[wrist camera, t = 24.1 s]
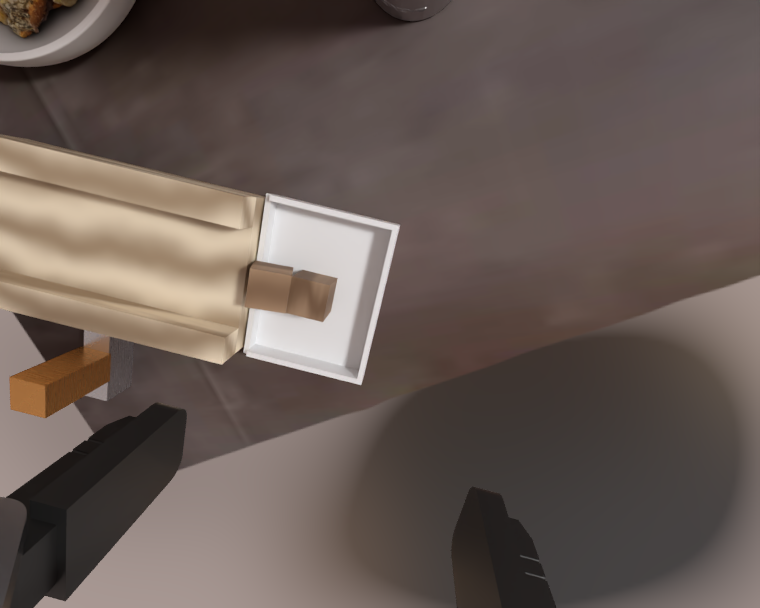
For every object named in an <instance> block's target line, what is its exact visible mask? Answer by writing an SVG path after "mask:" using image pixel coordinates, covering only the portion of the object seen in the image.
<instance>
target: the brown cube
mask: <svg viewBox="0 0 760 608" xmlns="http://www.w3.org/2000/svg"><path fill="white" fill-rule="evenodd" d="M337 279H338V278H335V277H331V276H327V275H322V274H318V273H314V272H310V271H306V270H302V271H300V272H298V273H296V274H295V275H293V276H292V278H291V284H290V290H289V296H288V302H287V308H286V313H288V314H292V315H296V316H300V317H304V318H308V319H312V320H316V321H320V322H323V321H324V320H325V319H326V317H327V316H328V315H329V314H330V312H331V309H332V304H333V299H334V294H335V289H336V284H337Z"/></svg>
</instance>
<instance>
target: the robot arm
mask: <svg viewBox="0 0 760 608" xmlns="http://www.w3.org/2000/svg"><path fill="white" fill-rule="evenodd" d="M375 1H376V2H377V4H378V5H379V6H380V7H381V8H382V9H383V10H384V11H385V12H387V13H388V14H390V15H391V16H393V17H395V18H398V19H401V20H406V21H418V20H424V19H427V18H429V17H432V16H434V15H435V14H437V13H438V12H440V11H441V10H443V9H444V8H445V7H446V6H447V5H448V4H449V3H450V2H451V0H375ZM186 419H187V413H186V410H184V409H181V408H177V407H173V406H170V405H166V404H162V403H155V404H153V405H151V406H150V407H149V408H148V409H146V410H145V411H144V412H142V413H141V414H140V415H139V416H137V417H132V416H128V417H125V418H123V419H120V420H118V421H115V422H113V423H110V424H108V425H106V426H104V427H103V428H102V429H100V430H99V431H97V432H96V433H95V434H93V435H92V436H91V437H90V438H89V439H88V441H84V442H82V443H81V444H80V445H78V446H77V447H75V448H74V449H73V451H72V452H69V453H67V454H66V455H64V456H63V457H61V458H60V459H59V460H57V461H56V462H55V463H53V464H52V465H51V466H49V467H48V468H46V469H45V470H44V471H42V472H41V473H39V474H38V475H37V476H35V477H34V478H33V479H31V480H30V481H28V482H27V483H26V484H24V485H23V486H21V487H20V488H19V489H17V490H16V491H14V492H13V493H12V494H10V495H9V496H7V497H6V498H4V497H0V608H34V607H35V605H36V604H37V603H38V602H39V601H40V600H41V599H42V598H43V597H44V596H48V597H52V598H56V599H59V600H63V601H66V600H67V599H68V598H69V596H70V595H71V594H72V593H73V592H74V591H75V590H76V588H77V587H78V586H79V585H80V584H81V583H82V582H83V580H84V579H85V578H86V577H87V576H88V575H89V574H90V573H91V571H92V570H93V569H94V568H95V567H96V566H97V565H98V563H99V562H100V561H101V560H102V559H103V558H104V556H105V555H106V554H107V553H108V552H109V551H110V550H111V548H112V547H113V546H114V545H115V544H116V543H117V542H118V540H119V539H120V538H121V537H122V536H123V535H124V534H125V532H126V531H127V530H128V529H129V528H130V527H131V526H132V524H133V523H134V522H135V521H136V520H137V519H138V518H139V516H140V515H141V514H142V513H143V512H144V511H145V510H146V508H147V507H148V506H149V505H150V504H151V503H152V502H153V500H154V499H155V498H156V497H157V496H158V495H159V494H160V492H161V491H162V490H163V489H164V488H165V487H166V486H167V484H168V483H169V482H170V481H171V480H172V478H173V477H174V475H175V474H176V472H177V470H178V468H179V465H180V463H181V460H182V455H183V446H184V437H185V428H186ZM451 558H452V567H453V576H454V585H455V595H456V604H457V608H556V605H555V602H554V600H553V597H552V594H551V591H550V588H549V586H548V583H547V581H545V574H544V571H543V569H542V566H541V564H540V563H539V557H538V554H537V552H536V549H535V546H534V543H533V540H532V538H531V537H530V536H529V534H528V533H527V532H526V530H525V529H524V527H523V526H522V525H521V523H520V522H519V521H518V520H516V519H512V518H509V517H508V514H507V511H506V507H505V504H504V501H503V498H502V496H501V495H500V494H499V493H495V492H491V491H487V490H483V489H480V488H476V487H472V488H470V490H469V492H468V494H467V497H466V500H465V503H464V505H463V508H462V511H461V513H460V516H459V519H458V521H457V524H456V527H455V530H454V533H453V538H452V546H451Z"/></svg>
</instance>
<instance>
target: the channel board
mask: <svg viewBox="0 0 760 608" xmlns="http://www.w3.org/2000/svg"><path fill="white" fill-rule="evenodd" d="M265 199H266V197H265V196H260V195H256V194H252V193H248V192H244V191H240V190H236V189H231V188H227V187H223V186H219V185H215V184H211V183H207V182H202V181H198V180H194V179H190V178H186V177H182V176H178V175H173V174H169V173H165V172H161V171H157V170H153V169H149V168H145V167H140V166H136V165H132V164H128V163H124V162H120V161H116V160H111V159H107V158H103V157H99V156H95V155H91V154H87V153H82V152H78V151H74V150H70V149H66V148H62V147H58V146H53V145H49V144H45V143H41V142H37V141H33V140H29V139H24V138H18V137H13V136H7V135H1V134H0V309H4V310H7V311H11V312H15V313H19V314H23V315H27V316H31V317H35V318H39V319H43V320H47V321H51V322H55V323H59V324H63V325H67V326H71V327H75V328H79V329H83V330H87V331H91V332H95V333H98V334H102V335H106V336H110V337H114V338H118V339H122V340H126V341H130V342H134V343H138V344H142V345H146V346H150V347H154V348H158V349H162V350H166V351H170V352H174V353H178V354H182V355H186V356H190V357H194V358H198V359H202V360H206V361H210V362H214V363H218V364H223V363H224V362H225V361H227V360H228V359H229V358H230V357H231V356H233V355H234V354H235V353H236V352H237V351H239V350H240V349H241V348H242V347H243V346H244V344H245V338H246V331H247V324H248V317H249V310H250V308H247V307H245V300H246V293H247V286H248V279H249V272H250V267H251V266H252V265H253V263H254V262H255V260H256V261H257V254H258V248H259V241H260V234H261V227H262V220H263V213H264V206H265Z"/></svg>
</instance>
